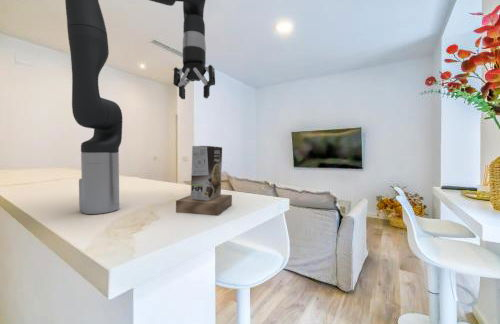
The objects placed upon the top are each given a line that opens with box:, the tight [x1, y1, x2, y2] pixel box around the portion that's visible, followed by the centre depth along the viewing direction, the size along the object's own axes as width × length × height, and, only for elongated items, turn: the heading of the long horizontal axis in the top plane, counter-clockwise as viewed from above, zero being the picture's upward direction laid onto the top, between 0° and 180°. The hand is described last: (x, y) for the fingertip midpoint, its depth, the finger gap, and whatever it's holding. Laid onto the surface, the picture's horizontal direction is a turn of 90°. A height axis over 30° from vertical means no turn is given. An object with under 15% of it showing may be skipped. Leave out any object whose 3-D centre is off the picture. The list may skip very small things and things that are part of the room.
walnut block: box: [175, 193, 233, 217], centre depth 70 cm, size 13×13×4 cm
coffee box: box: [190, 145, 223, 201], centre depth 69 cm, size 9×6×16 cm
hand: (194, 98), depth 76 cm, fingers open, 8 cm apart
